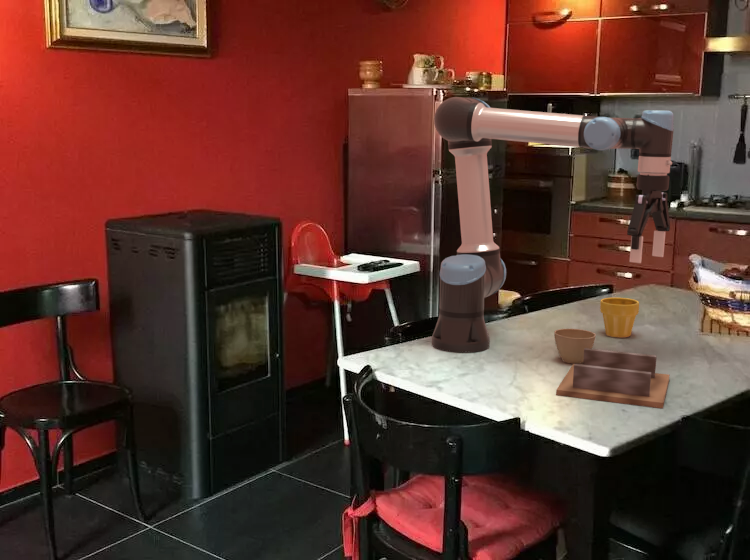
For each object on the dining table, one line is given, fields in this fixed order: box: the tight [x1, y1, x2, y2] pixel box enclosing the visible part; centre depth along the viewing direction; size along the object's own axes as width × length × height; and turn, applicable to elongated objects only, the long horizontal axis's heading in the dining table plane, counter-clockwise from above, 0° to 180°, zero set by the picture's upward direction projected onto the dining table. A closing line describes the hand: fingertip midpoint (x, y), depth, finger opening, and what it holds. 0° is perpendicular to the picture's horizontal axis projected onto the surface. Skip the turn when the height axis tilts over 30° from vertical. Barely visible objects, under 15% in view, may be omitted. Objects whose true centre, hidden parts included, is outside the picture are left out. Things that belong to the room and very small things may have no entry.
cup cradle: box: [555, 348, 670, 409], centre depth 191 cm, size 22×22×6 cm
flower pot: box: [553, 328, 597, 365], centre depth 212 cm, size 10×10×7 cm
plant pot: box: [599, 297, 640, 338], centre depth 238 cm, size 10×10×10 cm
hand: (646, 259), depth 214 cm, fingers open, 13 cm apart
